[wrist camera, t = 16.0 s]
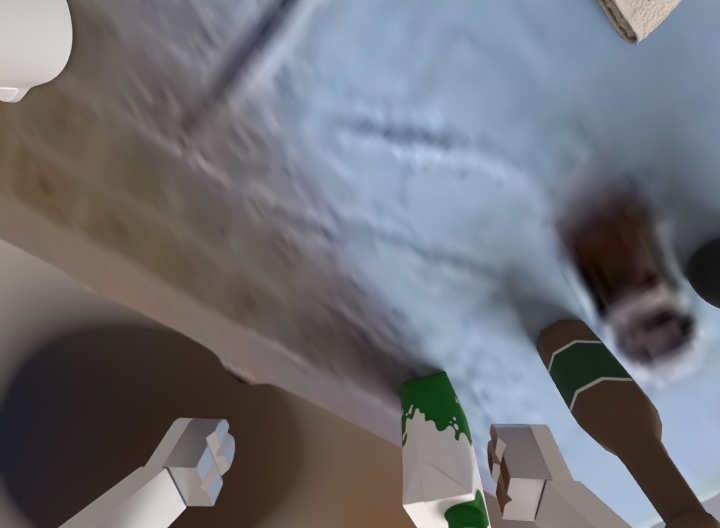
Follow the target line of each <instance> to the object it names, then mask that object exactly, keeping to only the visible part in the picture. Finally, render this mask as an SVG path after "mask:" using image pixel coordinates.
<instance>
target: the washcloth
mask: <svg viewBox="0 0 720 528" xmlns="http://www.w3.org/2000/svg"><path fill="white" fill-rule="evenodd" d="M598 1H599V3H600V5H601V7H602V8H603V10H604V11H605V13H606V15H607V16H608V18H609V19H610V21H611V23H612V24H613V26H614V27H615V29H616V30H617V32H618V33H619V34H620V35H621V36H622V38H623V39H624V40H625V41H627V42H628V43H630V44H633V45H636V44H638V43H639V42H640V41H641V40H643V39H645V38H646V37H647V36H648V34H649V33H650V32H652V31H653V30H654V29H655V28H656V27H657V26H658V25H659V24H660V23H661V22H662V21H663V20H664V19H665V18H666V17H667V16H668V15H669V14H670V12H671V11H672V10H673V9H675V7H676V6H677V5H678V3H679V2H680V1H681V0H598Z"/></svg>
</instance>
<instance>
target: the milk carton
mask: <svg viewBox="0 0 720 528" xmlns="http://www.w3.org/2000/svg"><path fill="white" fill-rule="evenodd" d="M401 416H402V451H403V507H404V508H405V510H406V511H407V513H408V514H409V516H410V517H411V519H412V520H413V522H414V523H415V525H416V526H417V528H491V526H490V522H489V517H488V512H487V508H486V503H485V498H484V494H483V489H482V484H481V480H480V475H479V471H478V466H477V462H476V457H475V453H474V449H473V444H472V440H471V436H470V431H469V427H468V423H467V419H466V416H465V414H464V411H463V409H462V407H461V405H460V402H459V400H458V398H457V396H456V394H455V392H454V389H453V387H452V385H451V383H450V381H449V379H448V377H447V374H446V372H443V373H440V374H436V375H432V376H429V377H425V378H421V379H418V380H414V381H410V382H407V383H403V384H402V403H401Z"/></svg>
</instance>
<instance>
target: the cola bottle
mask: <svg viewBox="0 0 720 528" xmlns="http://www.w3.org/2000/svg"><path fill="white" fill-rule="evenodd" d="M688 279H689V282H690V284H691V286H692V287H693V289H694V290H695V291H696V292H697V294H698V295H699V296H700V297H701V298H703V299H704V300H705V301H706V302H708V303H709V304H711V305H713V306H715V307H717V308H720V239H719V240H717V241H714V242H712V243H710V244H709V245H707V246H706V247H704V248H703V249H702V250H700V251H699V252H698V253H697V254H696V256H695V257H694V258H693V260H692V261H691V263H690V265H689V269H688Z"/></svg>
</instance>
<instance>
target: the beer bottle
mask: <svg viewBox="0 0 720 528" xmlns="http://www.w3.org/2000/svg"><path fill="white" fill-rule="evenodd" d="M537 351H538V353H539V355H540V357H541V359H542V361H543V363H544V365H545V367H546V368H547V370H548V372H549V374H550V376H551V378H552V379H553V381H554V383H555V385H556V387H557V388H558V390H559V392H560V394H561V396H562V397H563V399H564V401H565V403H566V405H567V406H568V408H569V410H570V412H571V413H572V415H573V416H574V418H575V419H576V421H577V422H578V424H579V425H580V427H581V428H583V429H584V430H585V431H586V432H587V433H588V434H589V435H590V436H591V437H592V438H593V439H594V440H595V441H596V442H598V443H599V444H600V445H601V446H602V447H603V448H604V449H605V450H607V451H609V452H611V453H612V454H614V455H616V456H618V458H619V459H620V460H621V461H622V462H623V463H624V465H625V466H626V467H627V469H628V470H629V472H630V473H631V475H632V476H633V478H634V479H635V480H636V482H637V483H638V485H639V486H640V488H641V489H642V490H643V492H644V493H645V495H646V496H647V498H648V499H649V500H650V502H651V503H652V505H653V506H654V508H655V509H656V511H657V512H658V513H659V515H660V516H661V518H662V519H663V521H664V522H665V523H666V526H665V528H720V523H719V522H718V521H717V520H716V519H715V518H714V517H713V516H712V515H711V514H709V513H707V512H706V511H705V509H704V508H703V506H702V505H701V503H700V502H699V500H698V499H697V497H696V496H695V494H694V493H693V491H692V490H691V488H690V487H689V485H688V484H687V482H686V481H685V479H684V478H683V476H682V475H681V473H680V472H679V470H678V469H677V467H676V466H675V464H674V463H673V461H672V460H671V458H670V457H669V455H668V453H667V451H666V449H665V447H664V446H663V444H662V442H661V433H662V423H661V420H660V417H659V414H658V411H657V409H656V408H655V406H654V405H653V404H652V402H651V401H650V399H649V398H648V396H647V395H646V394H645V393H644V392H643V390H642V389H641V388H640V387H639V386H638V384H637V383H636V382H635V381H634V380H633V378H632V377H631V376H630V375H629V373H628V372H627V371H626V370H625V369H624V367H623V366H622V365H621V364H620V363H619V361H618V360H617V359H616V358H615V357H614V355H613V354H612V353H611V352H610V351H609V349H608V348H607V347H606V346H605V345H604V343H603V342H602V341H601V340H600V339H599V338H598V337H597V336H596V335H595V334H594V332H593V331H592V330H591V329H590V328H589V327H588V326H587V325H586V324H585V323H584V322H583V321H567V320H559V321H558V322H556V323H554V324H553V325H551V326H549V327H548V328H546V329H545V330H543V331H541V335H540V338H539V342H538V346H537Z"/></svg>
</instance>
